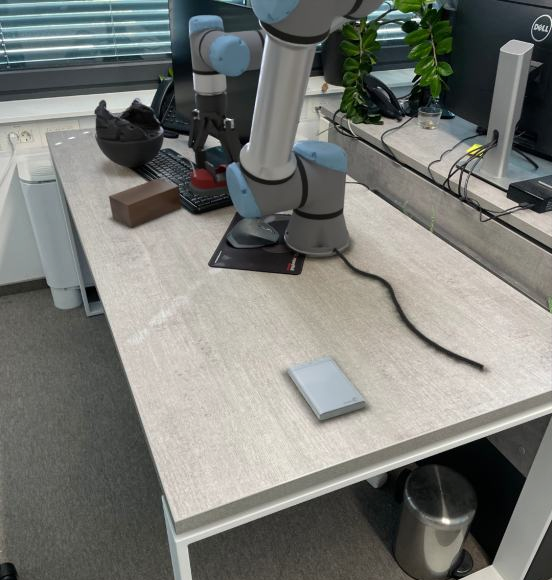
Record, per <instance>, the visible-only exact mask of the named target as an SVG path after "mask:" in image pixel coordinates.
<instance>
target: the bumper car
mask: <svg viewBox="0 0 552 580" xmlns="http://www.w3.org/2000/svg"><path fill="white" fill-rule="evenodd" d="M183 158H185V159H186V160H188V161H189V163H190V165H191V168H192V170H193V171H191V172H190V173H189V176H190V182H188V190H189V191H190V192H191V193H192V194H193V195H196V196H198V197H203V198H205V197H206V198H208V197H214V196H215V197H216V196H220V195H226V194H230V193H229V189H228V185H227V179H226V169H227V166H226V164H220V165H219V166H218V167H217V168H215V166H214V165H213V164H212V163H211V162H209V161H208V160H206V161H205V165H206V170H207V171H206V170H205V169H203V168H202V169H199V170H197V169H195V165H194V164H193V162H192V160H191V159H190V158H189V157H187V156H186V155H180V154H178V155H177V156H176V159H178V160H180V159H183Z"/></svg>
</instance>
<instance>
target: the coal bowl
mask: <svg viewBox="0 0 552 580" xmlns="http://www.w3.org/2000/svg"><path fill="white" fill-rule="evenodd" d="M94 115H95V133H94V138H95V141H96V143H97V146H98V148H99V149H100V151H101V152H102V154H103V155H104V156H105V157H106V158H107V159H109V160H110V161H111V162H113V163H115V164H116V165H119V166H122V167H126V168H140V167H142V165H143V166H145V165H148V164H149V163H151V162H152V161H153V160H154V159H155V158H156V157H157V156H158V154H159V153H160V152H161V149H162V147H163V145H164V144H163V143H164V141H165V140H164V139H165V130H164V128H163V127H162V126H161V122H160V121H159V119H158V118H157V117H156V114H155V110H154V108H152V107H150V106H148V105H146V104H144V103H143V102H142V101H141V98H140V97H135V98H133V100H132V102H131V104H130V105H129V106H128V107H127V108H125V110H123V111H122V112H121V113H119V114H118V115H117V116H116V115H114V114H113V113H112V112H111V111H110V110H108V107H107V102H106V100H105V99H101V100H100V101H99V102H98V106H96V108H95V109H94Z"/></svg>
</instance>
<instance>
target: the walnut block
mask: <svg viewBox="0 0 552 580" xmlns="http://www.w3.org/2000/svg"><path fill="white" fill-rule="evenodd" d="M108 201H109V205H110V211H111V215H112V219H113V220H115V221H117V222H119V223H121V224H123V225H125V226H126V227H129V228H134V227H137V226H140V225H142V224H144V223H146V222H149V221H152V220H154V219H156V218H159V217H161V216H164V215H167V214H169V213H171V212H173V211H176V210H179V209H181V208H182V202H181V194H180V185H178V184H176V183H173V182H171V181H168V180H165V179H163V178H160V177H158V178H155V179H153V180H150V181H147V182H144V183H141V184H137V185H136V186H132V187H131V188H130V187H129V188H127V189H124V190H122V191H119V192H116V193H113V194H111V195H109V196H108Z"/></svg>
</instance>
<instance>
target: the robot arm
mask: <svg viewBox="0 0 552 580" xmlns="http://www.w3.org/2000/svg"><path fill="white" fill-rule="evenodd" d="M385 1H386V0H250V5H251V8H252V11H253V13H254V14H255V17H257V19H258V23H259V25H260V28H261V29H256V30H246V31H234V32H233V31H232V32H225V28H224V22H223V18H221V16H218V15H213V14H212V15H211V14H207V15H205V14H203V15H196V16H192V17H191V18H189V21H188V30H189V31H188V33H189V34H188V38H189V44H190V45H189V46H190V53H191V54H190V55H191V64H192V76H193V77H192V79H193V90H194V91H195V93H194V99H195V109H193V110H190V113H189V114H190V126H189V133H188V141H187V147H188V148H189V149H192V151H193V153H194V160H195V161H194V162H195V164H196V170H199V169H202V168H203V169H205V170H206V165H205V161H207V153H206V150H205V149H206V148H205V145H206V142H207V139H208V137H209V136H210V133H212V134H214V136H215V138H216V139H218V141H219V143H220V146H221V148H222V151H223V152H224V155H225V157H226V159H227V163H226V164H225V165H226V166H227V169H226V179H227V185H228V189H229V193H228V194H229V195H230V199H231V202H232V205H233V206H234V208H235V210H236V212H237V213H238V214H239V215H240V216H241V217H242V218H245V219H255V218H260V219H261V218H262V217H267V216H271V215H275V214H280V213H284V212H288V211H292V212H291V215H290V218H289V221H288V223H287V226H286V229H285V232H284V245H285V248H287V249H288V250H289V251H290V252H292V253H293V254H295V255H298V256H301V257H305V258H311V259H312V258H313V259H323V258H324V259H326V258H331V257H335V256H338V257H340V259H341V260H342V261H343V262H344V264H345V265H346V266H347V267H348V268H349V269H350V270H352V271H353V272H355V273H357V274H359V275H361V276H365V277H368V278H371V279H374V280H377V281H379V282H380V283H382V284H383V285H385V286H386V288H387V289H388V291H389V294H390V297H391V300H392V302H393V304H394V306H395V308H396V309H397V312H398V314H399V315H400V317H401V320H403V322H404V324H406V326H407V327H408V328H409V329H410V330H411V331H412V332H413V334H415V335H416V336H417V337H419V338H420V339H421V340H423V341H424V342H425V343H427V344H428V345H430V346H431V347H433V348H434V349H436V350H438V351H440V352H441V353H444V354H446V355H448V356H449V357H452V358H454V359H456V360H459V361H462V362H464V363H466V364H468V365H471V366H473V367H475V368H478V369H480V370H483V369H484V367H485V365H484V364H482V363H480V362H477V361H476V360H475V361H474V360H472V359H471V358H468V357H465V356H462V355H460V354H458V353H456V352H453V351H451V350H449V349H447V348H445V347H444V346H442V345H439V344H438V343H436V342H435V341H434V340H431V339H430V338H428V337H427V336H426V335H424V334H423V333H422V332H421V331H420V330H418V329H417V328H416V326H414V324H412V322H410V320H409V319H408V317H407V316H406V314H405V312H404V310H403V309H402V307H401V305H400V303H399V301H398V300H397V298H396V294H395V291H394V289H393V287H392V285H391V284H390V282H388V281H387V280H386V279H384V278H383V277H381V276H379V275H376V274H373V273H370V272H366V271H364V270H360V269H358V268H357V267H355V266H353V264H351V262H350V261H349V260H348V259H347V258H346V257H345V255H344V254H343V253H344V252H346V250H348V248H349V245H350V233H349V230H348V227H347V222H346V218H345V215H344V208H345V198H346V197H345V196H346V184H347V173H348V156H347V153H346V150H345V149H344V148H342V147H341V146H339V145H337V144H334V143H332V142H329V141H328V142H327V141H323V140H317V139H316V140H315V139H303V140H299V141H297V142H295V141H296V136H297V132H298V129H299V124H300V119H301V116H302V111H303V107H304V102H305V98H306V94H307V89H308V85H309V81H310V78H311V77H310V76H311V72H312V68H313V63H314V59H315V55H316V52H317V51H316V50H317V47H318V46H319V45H321V44H323V43H324V42H326V40H327V39H328V38H329V35H330V34H332V33H333V32H335V31H336V30H338V29H339V28H341V27H342V26H344V25H345V24H346V23H348V22H358V21H361V20H364V19H365V18H367V17H369V15H371V14H373V13H374V12H376V10H378V9H379V8H380V7H381V6H382V5H384V3H385ZM254 70H260V71H259V77H258V83H257V84H258V85H257V91H256V97H255V105H254V109H253V116H252V123H251V130H250V136H249V142H247V143H246V144H244V145H243V146H242V145H241V144H242V143H241V140H240V138H239V134H238V130H237V119H236V118H231V119H230V118H228V117H227V113H226V111H227V109H228V107H229V106H228V105H229V104H228V92H227V91H226V90H227V76H228V77H238V76H241V75H242V74H243V73H244V72H247V71H254ZM206 171H207V170H206Z"/></svg>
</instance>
